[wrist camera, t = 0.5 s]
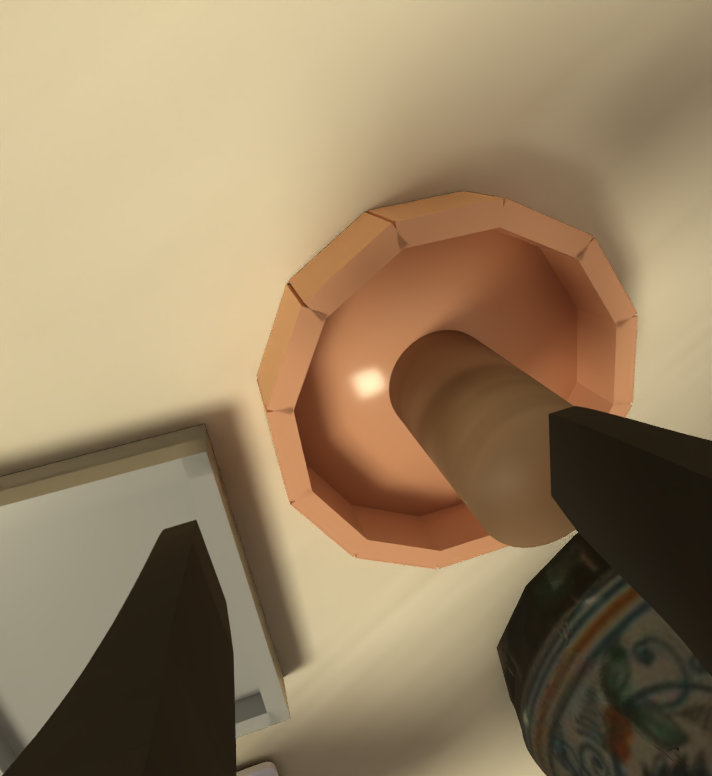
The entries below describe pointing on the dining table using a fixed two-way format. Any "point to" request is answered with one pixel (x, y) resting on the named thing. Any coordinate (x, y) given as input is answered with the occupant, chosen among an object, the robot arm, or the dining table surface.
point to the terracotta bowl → (406, 325)
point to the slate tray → (113, 573)
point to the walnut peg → (483, 433)
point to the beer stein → (603, 676)
